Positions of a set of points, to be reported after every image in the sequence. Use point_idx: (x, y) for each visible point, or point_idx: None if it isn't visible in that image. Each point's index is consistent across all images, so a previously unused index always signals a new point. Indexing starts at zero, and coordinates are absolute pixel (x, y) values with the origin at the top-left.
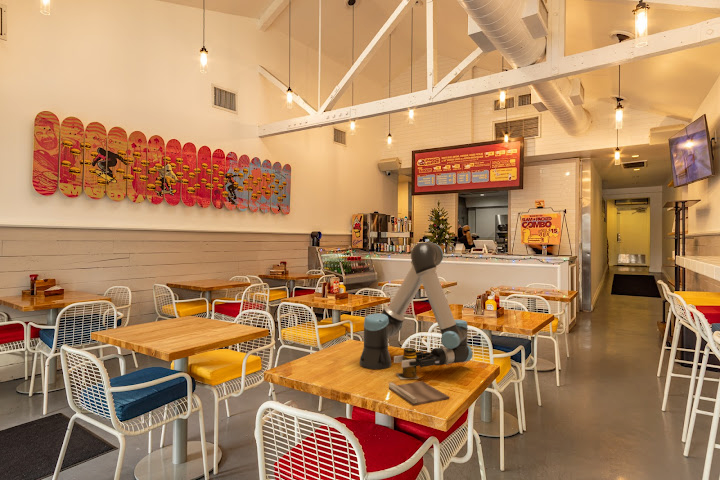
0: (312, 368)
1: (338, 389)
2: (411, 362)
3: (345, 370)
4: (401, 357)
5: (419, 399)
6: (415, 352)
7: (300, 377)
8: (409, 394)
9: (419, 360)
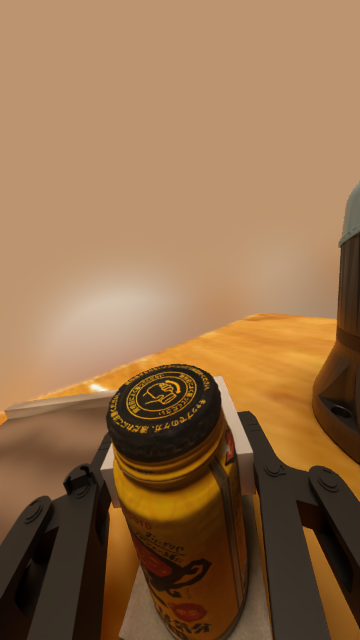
0: (285, 329)
1: (177, 346)
2: (106, 433)
3: (282, 355)
4: (224, 415)
5: (4, 432)
6: (115, 445)
7: (238, 325)
8: (34, 404)
9: (65, 510)
